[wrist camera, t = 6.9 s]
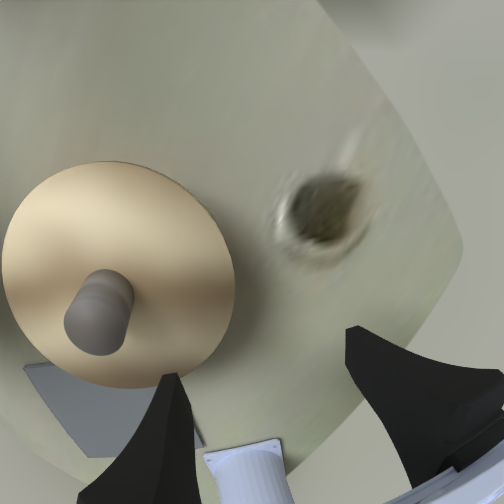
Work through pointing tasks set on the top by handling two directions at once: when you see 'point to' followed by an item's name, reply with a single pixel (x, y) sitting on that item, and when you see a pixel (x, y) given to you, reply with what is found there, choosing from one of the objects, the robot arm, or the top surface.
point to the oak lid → (118, 275)
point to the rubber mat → (93, 409)
